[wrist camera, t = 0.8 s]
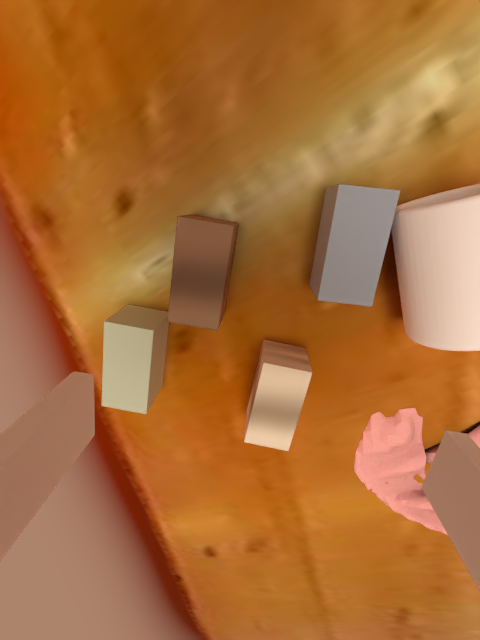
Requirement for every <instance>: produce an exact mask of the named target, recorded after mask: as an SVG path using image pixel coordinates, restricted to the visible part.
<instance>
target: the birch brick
mask: <svg viewBox="0 0 480 640" xmlns="http://www.w3.org/2000/svg"><path fill="white" fill-rule="evenodd" d="M311 376H312V370H311V366H310V363H309V359H308V356H307V353H306V349H305V348H303V347H298V346H293V345H288V344H283V343H279V342H274V341H269V340H263V344H262V348H261V352H260V357H259V361H258V365H257V369H256V373H255V377H254V382H253V386H252V390H251V394H250V398H249V402H248V407H247V413H246V425H245V437H244V442H246V443H251V444H256V445H261V446H266V447H270V448H275V449H280V450H285V451H289V447H290V444H291V441H292V438H293V434H294V431H295V428H296V425H297V421H298V418H299V415H300V412H301V408H302V405H303V402H304V399H305V395H306V392H307V389H308V386H309V382H310V379H311Z"/></svg>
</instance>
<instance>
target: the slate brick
mask: <svg viewBox="0 0 480 640" xmlns="http://www.w3.org/2000/svg"><path fill="white" fill-rule="evenodd" d="M399 194H400V190H391V189H382V188H372V187H362V186H352V185H342V184H338V185H335V186H332V187H329V188H326V191H325V197H324V202H323V208H322V214H321V220H320V225H319V231H318V237H317V243H316V248H315V254H314V260H313V266H312V271H311V277H310V283H309V286H310V288H311V290H312V292H313V293H314V295H315V297H316V298H317V300H318V301H327V302H336V303H344V304H353V305H362V306H371V307H372V304H373V300H374V296H375V292H376V288H377V284H378V280H379V276H380V272H381V268H382V263H383V259H384V255H385V251H386V247H387V243H388V239H389V235H390V231H391V227H392V223H393V219H394V215H395V211H396V206H397V202H398V198H399Z"/></svg>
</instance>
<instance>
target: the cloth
mask: <svg viewBox="0 0 480 640" xmlns="http://www.w3.org/2000/svg"><path fill="white" fill-rule="evenodd" d="M422 418H423V417H420V416H418V414H417V412H416V409H415V408H406V409H400V410H398V412H397V413H396V414H395V416H394V417H386V418H385V417H384V416H383V415H382V414H381V413H380V412H378V413H375V414H373V415H371V418H370V420H369V422H368V425H367V427H366V429H365V430H364V431H363V437H362V438H361V440H360V444H359V447H358V449H357V452H356V454H355V464H354V467H355V472H356V474H357V475H358V477H359V479H360V480H361V482H364V483H365V486H366V487H367V489H368V490H369V489H372V491H373V492H374V493H376V496H377V497H378V498H379V499H381V501H383V502H385V503H386V505H387V506H389V507H390V508H391V509H392V510H393V511H395V512H396V513H400V514H401V515H403V516H404V517H406V518H407V519H409V520H412V521H415V522H420V523H421V524H422V525H424V526H425V527H427V528H429V529H432V530H436V531H440V532H442V533H444V534H446V535H448V534H447V532H446V530H445V529H444V527H443V525H442V523H441V521H440V520H439V518H438V516H437V514H436V513H435V511H434V509H433V507H432V506H431V504H430V502H429V500H428V498H427V497H426V495H425V493H424V491H423V490H422V485H423V483H421V484H420V483H418V482H417V481H416V480H415V479H413V477H414V475H415V474H419V476H420V477H422V478H423V479H424V480H425V478H426V475H425V464H426V463H432V462H433V459H434V457H435V455H436V452H437V450H438V448H439V445H440V444H437V445H435V446H433V447H430V448H428V449H425V450H424V447H423V443H422V432H421V431H422ZM466 434H468V435H469V437H470V438H471V439H472V440H473V441H474V442H475V443H476V444H477V445H478V447H479V448H480V425H479V426H478V427H477V428H475V429H474V430H472V431H469V432H467V433H466ZM402 477H403V478H402ZM385 482H387V483H389V484H385Z"/></svg>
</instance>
